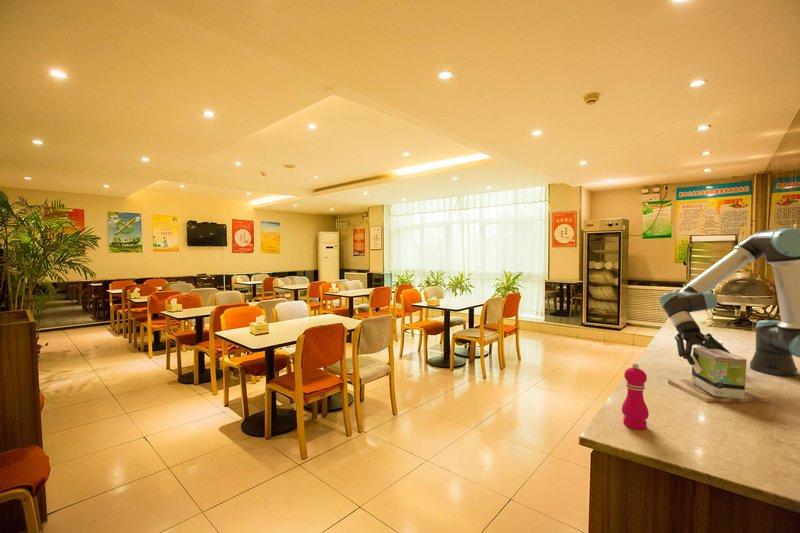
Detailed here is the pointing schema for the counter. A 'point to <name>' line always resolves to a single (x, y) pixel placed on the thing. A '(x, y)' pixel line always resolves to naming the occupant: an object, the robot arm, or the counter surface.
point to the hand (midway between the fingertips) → (715, 372)
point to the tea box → (720, 373)
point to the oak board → (707, 397)
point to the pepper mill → (635, 399)
